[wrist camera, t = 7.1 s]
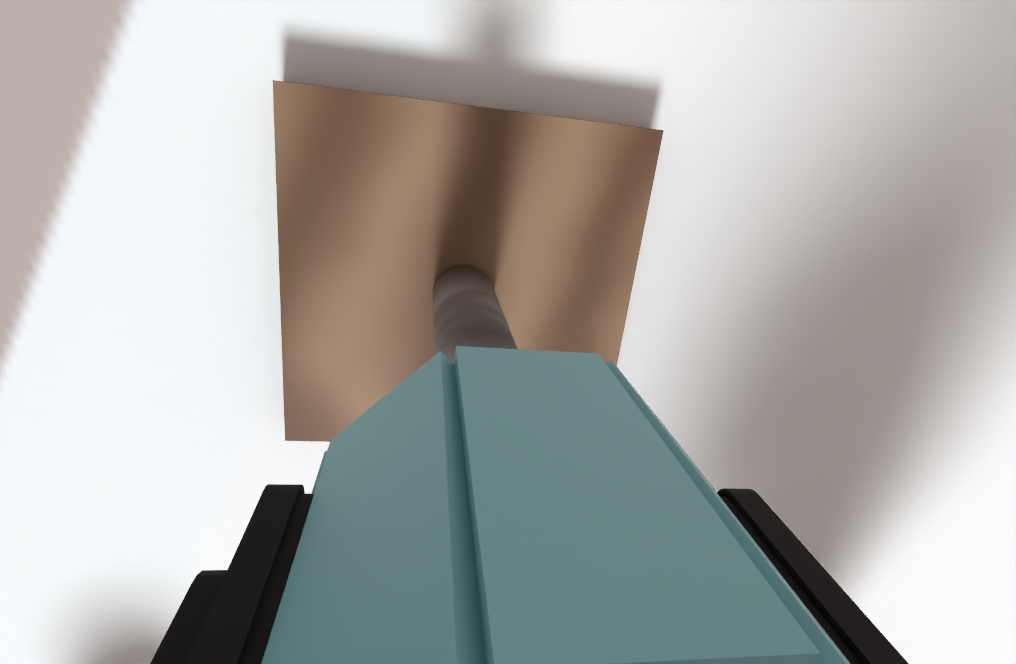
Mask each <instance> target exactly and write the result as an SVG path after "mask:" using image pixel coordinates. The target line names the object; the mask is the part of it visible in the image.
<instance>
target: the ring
mask: <svg viewBox="0 0 1016 664" xmlns="http://www.w3.org/2000/svg"><path fill="white" fill-rule="evenodd" d="M312 494H314V496H313V499H312V502H311V506H310V509H309V512H308V515H307V518H306V522H305V525H304V528H303V531H302V534H301V538H300V541H299V544H298V547H297V551H296V554H295V557H294V560H293V563H292V567H291V570H290V573H289V576H288V579H287V583H286V586H285V589H284V592H283V596H282V599H281V602H280V605H279V608H278V612H277V615H276V618H275V621H274V624H273V628H272V631H271V634H270V637H269V641H268V644H267V647H266V650H265V653H264V657H263V660H262V663H261V664H850V663H849V661H848V660H847V659H846V657H845V656H844V655H843V654H842V652H841V651H840V650H839V649H838V647H837V646H836V645H835V643H834V642H833V641H832V640H831V638H830V637H829V636H828V634H827V633H826V632H825V631H824V629H823V628H822V627H821V626H820V624H819V623H818V622H817V620H816V619H815V618H814V617H813V615H812V614H811V613H810V611H809V610H808V609H807V608H806V606H805V605H804V604H803V602H802V601H801V600H800V599H799V597H798V596H797V595H796V594H795V592H794V591H793V590H792V588H791V587H790V586H789V585H788V583H787V582H786V581H785V579H784V578H783V577H782V576H781V574H780V573H779V572H778V570H777V569H776V568H775V567H774V565H773V564H772V563H771V562H770V560H769V559H768V558H767V556H766V555H765V554H764V553H763V551H762V550H761V549H760V547H759V546H758V545H757V544H756V542H755V541H754V540H753V538H752V537H751V536H750V535H749V533H748V532H747V531H746V530H745V528H744V527H743V526H742V524H741V523H740V522H739V521H738V519H737V518H736V517H735V515H734V514H733V513H732V512H731V510H730V509H729V508H728V506H727V505H726V504H725V503H724V501H723V500H722V499H721V498H720V496H719V495H718V494H717V492H716V491H715V490H714V489H713V487H712V486H711V485H710V483H709V482H708V481H707V480H706V478H705V477H704V476H703V474H702V473H701V472H700V471H699V469H698V468H697V467H696V466H695V464H694V463H693V462H692V460H691V459H690V458H689V457H688V455H687V454H686V453H685V451H684V450H683V449H682V448H681V446H680V445H679V444H678V443H677V441H676V440H675V439H674V438H673V436H672V435H671V434H670V433H669V431H668V430H667V429H666V428H665V426H664V425H663V424H662V423H661V421H660V420H659V419H658V418H657V416H656V415H655V414H654V413H653V412H652V410H651V409H650V408H649V407H648V405H647V404H646V403H645V402H644V400H643V399H642V398H641V397H640V395H639V394H638V393H637V392H636V390H635V389H634V388H633V387H632V385H631V384H630V383H629V382H628V380H627V379H626V378H625V377H624V375H623V374H622V373H621V372H620V370H619V369H618V368H617V367H616V365H615V364H614V363H613V362H612V360H609V361H608V362H607V363H605V362H604V360H603V359H602V358H601V356H600V355H599V354H598V353H579V352H560V351H542V350H523V349H504V348H485V347H466V346H456V350H455V362H454V364H453V363H452V362H451V361H450V360H449V359H448V358H447V357H446V356H445V355H444V354H443V353H442V352H441V351H440V352H439V353H437V354H436V355H435V356H434V357H432V358H431V359H430V360H429V361H427V362H426V363H425V364H424V365H422V366H421V367H420V368H419V369H418V370H416V371H415V372H414V373H413V374H411V375H410V376H409V377H408V378H406V379H405V380H404V381H403V382H401V383H400V384H399V385H398V386H396V387H395V388H394V389H393V390H392V391H390V392H389V393H388V394H387V395H385V396H384V397H383V398H382V399H380V400H379V401H378V402H377V403H375V404H374V405H373V406H372V407H370V408H369V409H368V410H367V411H366V412H364V413H363V414H362V415H361V416H359V417H358V418H357V419H356V420H354V421H353V422H352V423H351V424H349V425H348V426H347V427H346V428H345V429H343V430H342V431H341V432H340V433H338V434H337V435H336V436H335V437H333V438H332V439H331V441H330V444H329V448H328V451H325V453H324V456H323V459H322V463H321V466H320V469H319V472H318V475H317V478H316V481H315V485H314V488H313V491H312Z"/></svg>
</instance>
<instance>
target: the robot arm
mask: <svg viewBox="0 0 1016 664" xmlns="http://www.w3.org/2000/svg"><path fill="white" fill-rule="evenodd" d="M717 494H718V495H719V496H720V498H721V499H722V500H723V501H724V503H725V504H726V505H727V506H728V508H729V509H730V510H731V512H732V513H733V514H734V515H735V517H736V518H737V519H738V521H739V522H740V523H741V524H742V526H743V527H744V528H745V530H746V531H747V532H748V533H749V535H750V536H751V537H752V538H753V540H754V541H755V542H756V544H757V545H758V546H759V547H760V549H761V550H762V551H763V553H764V554H765V555H766V556H767V558H768V559H769V560H770V562H771V563H772V564H773V565H774V567H775V568H776V569H777V570H778V572H779V573H780V574H781V576H782V577H783V578H784V579H785V581H786V582H787V583H788V585H789V586H790V587H791V588H792V590H793V591H794V592H795V594H796V595H797V596H798V597H799V599H800V600H801V601H802V602H803V604H804V605H805V606H806V608H807V609H808V610H809V611H810V613H811V614H812V615H813V617H814V618H815V619H816V620H817V622H818V623H819V624H820V626H821V627H822V628H823V629H824V631H825V632H826V633H827V634H828V636H829V637H830V638H831V640H832V641H833V642H834V643H835V645H836V646H837V647H838V649H839V650H840V651H841V652H842V654H843V655H844V656H845V657H846V659H847V660H848V661H849V663H850V664H908V663H907V662H906V660H905V659H904V658H903V657H902V656H901V655H900V654H899V653H898V651H897V650H896V649H895V648H894V647H893V646H892V645H891V644H890V642H889V641H888V640H887V639H886V638H885V637H884V636H883V634H882V633H881V632H880V631H879V630H878V629H877V628H876V627H875V625H874V624H873V623H872V622H871V621H870V620H869V619H868V618H867V616H866V615H865V614H864V613H863V612H862V611H861V610H860V609H859V607H858V606H857V605H856V604H855V603H854V602H853V601H852V600H851V598H850V597H849V596H848V595H847V594H846V593H845V592H844V591H843V589H842V588H841V587H840V586H839V585H838V584H837V583H836V582H835V580H834V579H833V578H832V577H831V576H830V575H829V574H828V573H827V571H826V570H825V569H824V568H823V567H822V566H821V565H820V563H819V562H818V561H817V560H816V559H815V558H814V557H813V556H812V554H811V553H810V552H809V551H808V550H807V549H806V548H805V547H804V545H803V544H802V543H801V542H800V541H799V540H798V539H797V538H796V536H795V535H794V534H793V533H792V532H791V531H790V530H789V529H788V527H787V526H786V525H785V524H784V523H783V522H782V521H781V520H780V518H779V517H778V516H777V515H776V514H775V513H774V512H773V511H772V509H771V508H770V507H769V506H768V505H767V504H766V503H765V502H764V500H763V499H762V498H761V497H760V496H759V495H758V494H757V493H756V492H755V491H754V490H751V489H721V490H719V491H718V492H717ZM313 496H314V494H304V487H303V485H267V486H266V487H265V489H264V491H263V493H262V495H261V497H260V500H259V502H258V504H257V506H256V508H255V511H254V513H253V515H252V517H251V519H250V522H249V524H248V526H247V528H246V531H245V533H244V535H243V537H242V539H241V542H240V544H239V546H238V548H237V551H236V553H235V555H234V557H233V559H232V562H231V564H230V566H229V568H228V570H213V571H201V572H200V573H199V574H198V575H197V576H196V578H195V579H194V581H193V582H192V584H191V586H190V588H189V590H188V592H187V594H186V596H185V598H184V600H183V602H182V603H181V605H180V607H179V609H178V611H177V613H176V615H175V617H174V619H173V621H172V623H171V625H170V627H169V629H168V631H167V633H166V634H165V636H164V638H163V640H162V642H161V644H160V646H159V648H158V650H157V652H156V654H155V656H154V658H153V660H152V662H151V664H261V663H262V660H263V657H264V653H265V650H266V647H267V644H268V641H269V637H270V634H271V631H272V628H273V624H274V621H275V618H276V615H277V612H278V608H279V605H280V602H281V599H282V596H283V592H284V589H285V586H286V583H287V579H288V576H289V573H290V570H291V567H292V563H293V560H294V557H295V554H296V551H297V547H298V544H299V541H300V538H301V534H302V531H303V528H304V525H305V522H306V518H307V515H308V512H309V509H310V506H311V502H312V499H313Z"/></svg>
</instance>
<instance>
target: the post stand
mask: <svg viewBox="0 0 1016 664" xmlns="http://www.w3.org/2000/svg"><path fill="white" fill-rule="evenodd" d="M273 97H274V126H275V155H276V184H277V214H278V243H279V272H280V301H281V330H282V360H283V389H284V418H285V441H328V442H330V441H331V439H332V438H333V437H335V436H336V435H337V434H338V433H340V432H341V431H342V430H343V429H345V428H346V427H347V426H348V425H349V424H351V423H352V422H353V421H354V420H356V419H357V418H358V417H359V416H361V415H362V414H363V413H364V412H366V411H367V410H368V409H369V408H370V407H372V406H373V405H374V404H375V403H377V402H378V401H379V400H380V399H382V398H383V397H384V396H385V395H387V394H388V393H389V392H390V391H392V390H393V389H394V388H395V387H396V386H398V385H399V384H400V383H401V382H403V381H404V380H405V379H406V378H408V377H409V376H410V375H411V374H413V373H414V372H415V371H416V370H418V369H419V368H420V367H421V366H422V365H424V364H425V363H426V362H427V361H429V360H430V359H431V358H432V357H434V356H435V355H436V354H437V353H439V352H440V351H441V352H442V353H443V354H444V355H445V356H446V357H447V358H448V359H449V360H450V361H451V362H452V363H453V364H454V362H455V350H456V346H466V347H485V348H504V349H523V350H542V351H560V352H579V353H598V354H599V355H600V356H601V358H602V359H603V360H604V362H605V363H607V362H608V361H609V360H612V362H613V363H614V364H615V365H616V366H617V361H618V356H619V351H620V346H621V341H622V336H623V331H624V326H625V321H626V316H627V311H628V306H629V301H630V295H631V290H632V285H633V280H634V275H635V270H636V265H637V260H638V255H639V250H640V245H641V240H642V235H643V230H644V225H645V220H646V215H647V210H648V205H649V200H650V195H651V190H652V185H653V180H654V175H655V170H656V165H657V160H658V155H659V150H660V145H661V140H662V135H663V130H656V129H648V128H640V127H633V126H625V125H617V124H609V123H601V122H594V121H586V120H578V119H570V118H562V117H555V116H547V115H539V114H531V113H524V112H516V111H508V110H500V109H492V108H485V107H477V106H469V105H461V104H453V103H446V102H438V101H430V100H422V99H414V98H407V97H399V96H391V95H383V94H375V93H368V92H360V91H352V90H344V89H337V88H329V87H321V86H313V85H305V84H298V83H290V82H282V81H274V80H273Z"/></svg>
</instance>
